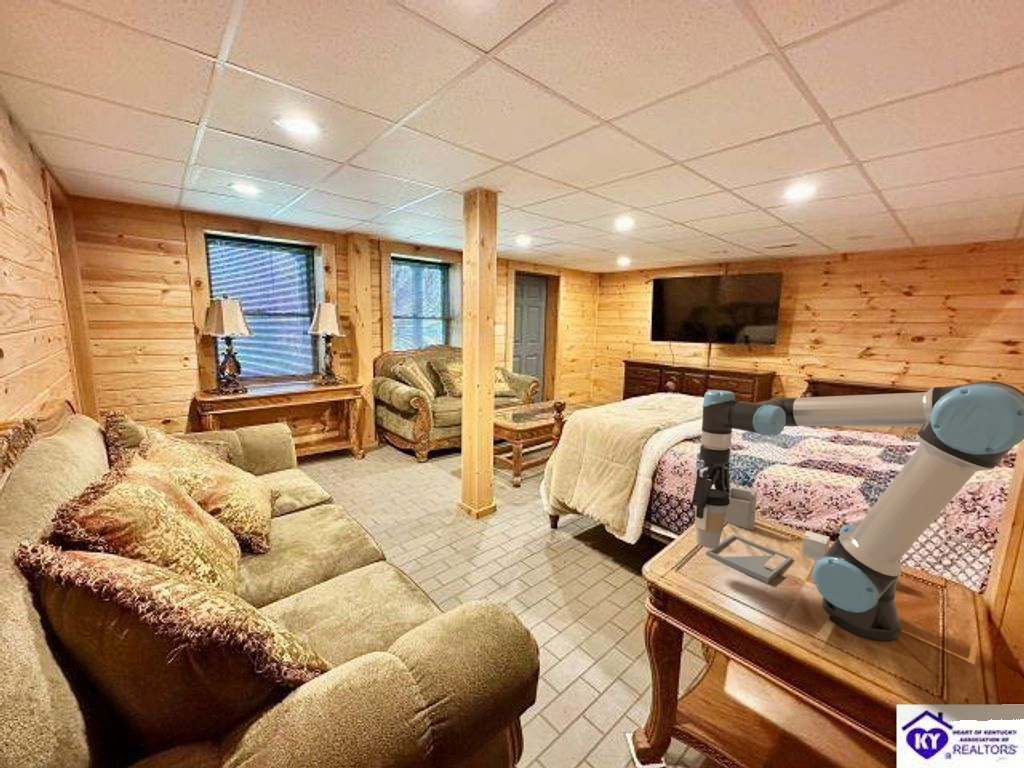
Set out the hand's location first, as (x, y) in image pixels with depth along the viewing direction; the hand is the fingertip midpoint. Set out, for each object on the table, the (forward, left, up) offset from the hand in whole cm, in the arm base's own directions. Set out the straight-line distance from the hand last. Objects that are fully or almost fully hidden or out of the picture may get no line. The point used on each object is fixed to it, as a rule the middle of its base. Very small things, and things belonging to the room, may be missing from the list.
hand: (709, 523), depth 122 cm
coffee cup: (0, 0, -6) cm, 6 cm away
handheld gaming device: (+6, -35, -15) cm, 39 cm away
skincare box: (-17, -34, -15) cm, 41 cm away
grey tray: (-5, -17, -15) cm, 23 cm away
